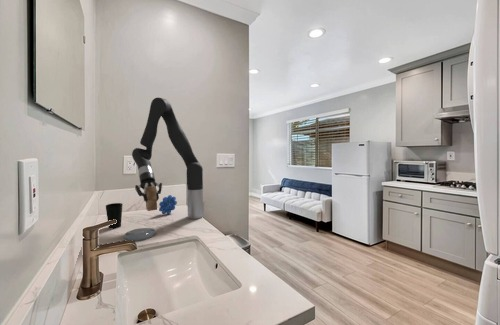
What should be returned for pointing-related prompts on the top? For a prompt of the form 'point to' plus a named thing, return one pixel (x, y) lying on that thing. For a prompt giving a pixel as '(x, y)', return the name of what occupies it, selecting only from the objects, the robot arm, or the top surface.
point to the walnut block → (151, 198)
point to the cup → (114, 214)
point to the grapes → (167, 204)
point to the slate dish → (140, 234)
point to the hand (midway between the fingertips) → (152, 200)
